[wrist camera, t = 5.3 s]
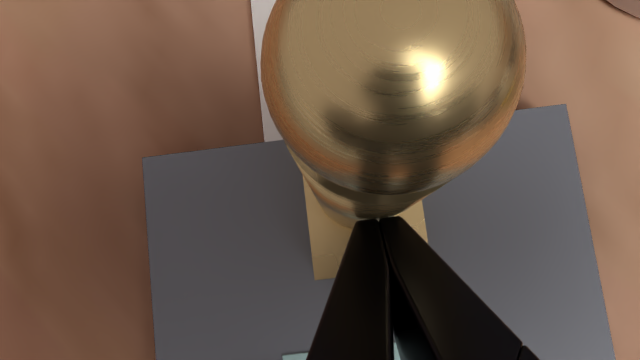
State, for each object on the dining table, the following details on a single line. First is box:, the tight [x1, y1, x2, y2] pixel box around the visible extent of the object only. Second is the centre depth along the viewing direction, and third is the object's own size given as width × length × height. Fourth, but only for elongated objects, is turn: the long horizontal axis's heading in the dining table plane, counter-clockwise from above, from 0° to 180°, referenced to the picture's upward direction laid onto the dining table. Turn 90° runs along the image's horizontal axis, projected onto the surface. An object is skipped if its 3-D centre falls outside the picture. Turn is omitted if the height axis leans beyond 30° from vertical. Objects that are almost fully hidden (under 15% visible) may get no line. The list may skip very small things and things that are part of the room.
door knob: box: [260, 0, 526, 280], centre depth 10 cm, size 5×3×12 cm, turn 7°
